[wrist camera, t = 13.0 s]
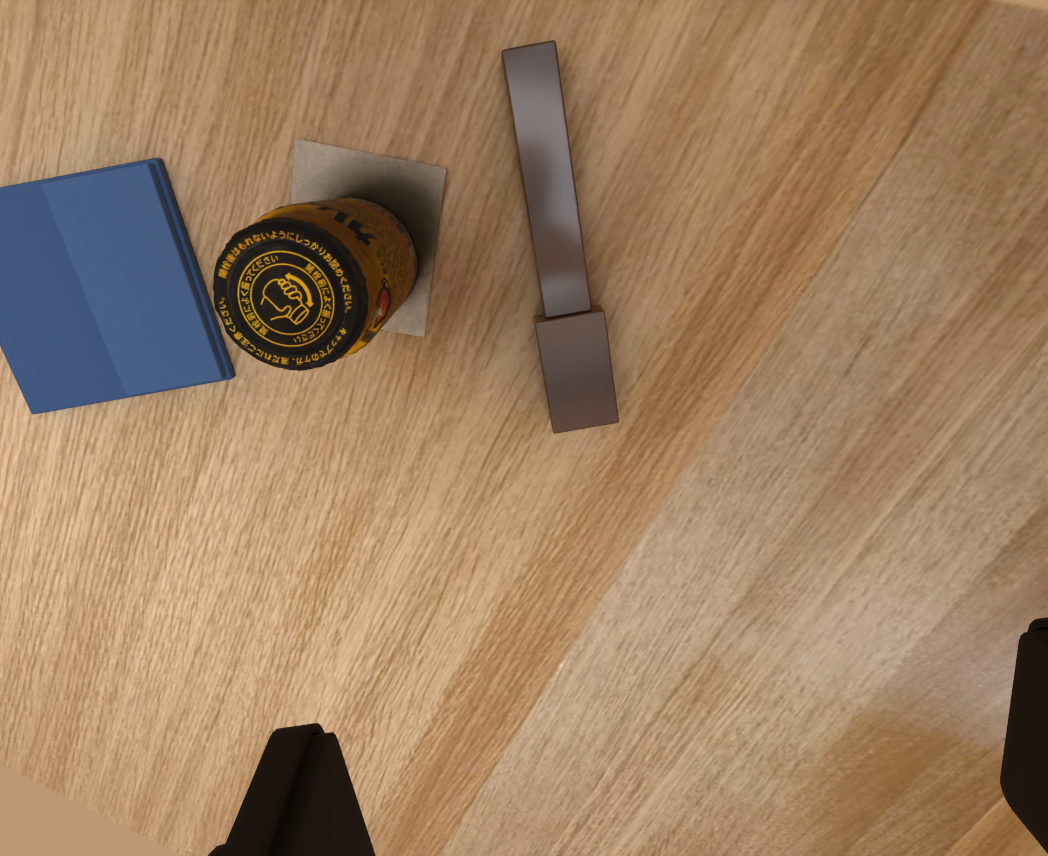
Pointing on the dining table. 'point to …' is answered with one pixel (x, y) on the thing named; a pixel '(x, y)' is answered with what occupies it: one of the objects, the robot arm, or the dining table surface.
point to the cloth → (103, 290)
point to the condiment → (333, 259)
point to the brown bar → (558, 246)
